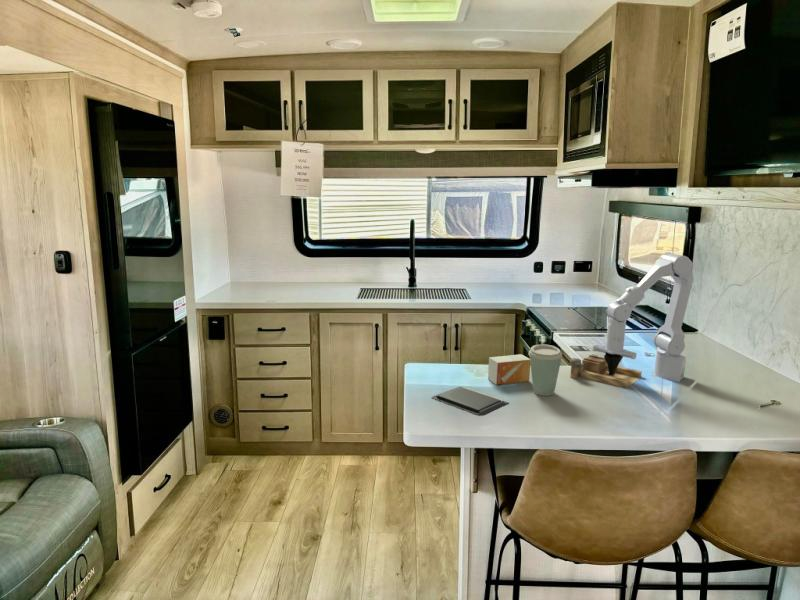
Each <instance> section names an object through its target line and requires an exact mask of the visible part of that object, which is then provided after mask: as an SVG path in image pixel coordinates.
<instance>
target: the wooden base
mask: <svg viewBox="0 0 800 600" xmlns="http://www.w3.org/2000/svg"><path fill="white" fill-rule="evenodd" d="M591 355H593V356H598V354H591ZM598 357H599V356H598ZM569 365H570V377H569V378H571V379H574V380H576V379H578V378H583V379H588V380H590V381H591V380H592V381H596V382H600V383H605V384H608V385H613V386H617V387H621V388H624V389H625V388H626V389H627V388H629V387H630V386H631V385H633V384H634V383H636V381H638V380H639V379H641V378H642V370H637V369H632V368H628V367H624V366H619V365H618V367H617V369H616V372H615V374H614V375H609V369H608V365H607V368H606V372H605V373H604V374H598V373H594V372H589V371H585V370H583V368H584V364H583V363H582V359H580V358H574V357H572V358H570V360H569Z"/></svg>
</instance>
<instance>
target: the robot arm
mask: <svg viewBox="0 0 800 600" xmlns="http://www.w3.org/2000/svg"><path fill="white" fill-rule="evenodd" d="M693 267H694V263H693V261H692V260H691V259H690V258H689V257H688V256H686V255H679V254H675V253H672V252H665V253H662V254H661V255H660V257H659V258H657V259H656V261H655V262H654V265H653V266H652V268H651V269H650V270H649V271H648V272H647V273H646V274H645V275H644V277H643V278H642V279H641V280H640V281H639V282H638V284H637V285H634V286H633V285H632V286H630V287H627V288H626V289H625V292H624V293H623V294H622V295H621V296H620V297H619V298H617V299H616V300H615V301H614V302H611V303H610V304H609V305H607V308H606V309H605V314H606V315H607V317H608V319H607V320H608V322H607V331H606V342H605V343H606V344H605V345H598V344H593V345H592V352H599V353H604V356H603V358H605V360H606V362H607V365H608V369H609V375H614V374H615V372H616V369H617V367H618V366H619V365H620V363H621V361H622V359H623V358H629V359H631V360H636V358H637V352H635V351H630V350H627V349H624V345H625V337H626V336H625V335H626V327H627V320H629V319H630V318H631V315H632V311H633V310H634V308H635V307H636V306H637V305H638V304H640V302H642V301H643V300H644V299H645V293H646V292H647V291H648V290H650V289H651V288H652V287H653V286H654V285H655V284H656V283H657V282H658V281H659V280H660V279H661V278H663V277H665V278H666V277H671V278H672V280H673V281H674V284H673V288H672V292H671V295H670V300H669V305H668V309H667V313H666V315H665V316H666V317H665V320H664V324H663V325H662V326H660V327H658V331H657V333H656V334H655V336H654V338H653V344H654V346H655V347H656V355H655V363H654V364H655V365H654V372H653V373H651V374H650V376H651V377H655V378H659V379H665V380H668V381H673V382H681V380H683V378H684V377H685V370H686V363H687V362H686V361H687V358H686V356H685V355H682V353H683V352H684V350H685V347H686V343H685V337H686V336H685V333H684V330H682V326H683V323H684V319H685V314H686V311H687V307H688V302H689V299H690V295H691V291H692V287H693V283H694V274H693Z"/></svg>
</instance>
